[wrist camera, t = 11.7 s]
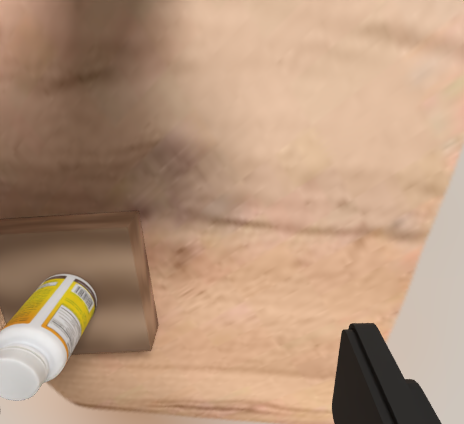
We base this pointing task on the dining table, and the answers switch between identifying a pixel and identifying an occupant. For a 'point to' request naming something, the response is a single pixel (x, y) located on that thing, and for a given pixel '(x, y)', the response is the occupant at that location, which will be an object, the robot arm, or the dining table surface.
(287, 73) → the dining table surface
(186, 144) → the dining table surface
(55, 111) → the dining table surface
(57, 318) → the supplement bottle
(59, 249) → the walnut base
